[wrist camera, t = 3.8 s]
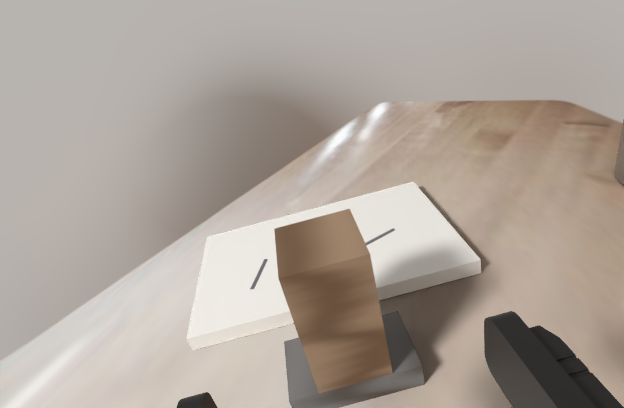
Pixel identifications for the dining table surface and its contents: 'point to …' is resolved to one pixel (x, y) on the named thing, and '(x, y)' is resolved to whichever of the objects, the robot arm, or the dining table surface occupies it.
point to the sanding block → (339, 318)
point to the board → (377, 236)
